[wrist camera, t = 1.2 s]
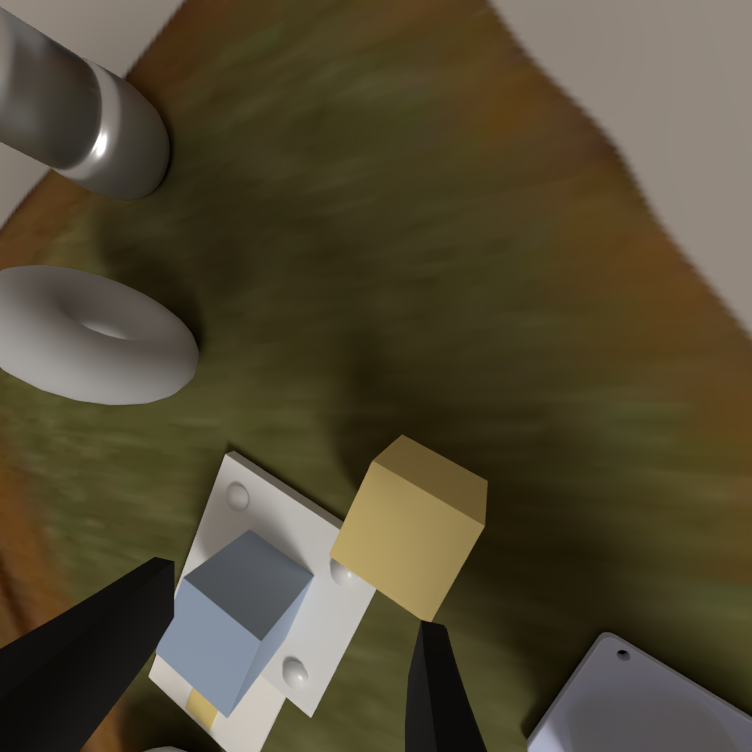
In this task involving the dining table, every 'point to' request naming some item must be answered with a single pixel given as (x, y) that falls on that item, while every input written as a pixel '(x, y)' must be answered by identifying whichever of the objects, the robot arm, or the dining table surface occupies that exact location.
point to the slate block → (233, 618)
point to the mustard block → (412, 525)
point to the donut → (91, 337)
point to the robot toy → (165, 749)
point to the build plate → (307, 548)
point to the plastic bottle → (77, 116)
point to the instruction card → (233, 733)
